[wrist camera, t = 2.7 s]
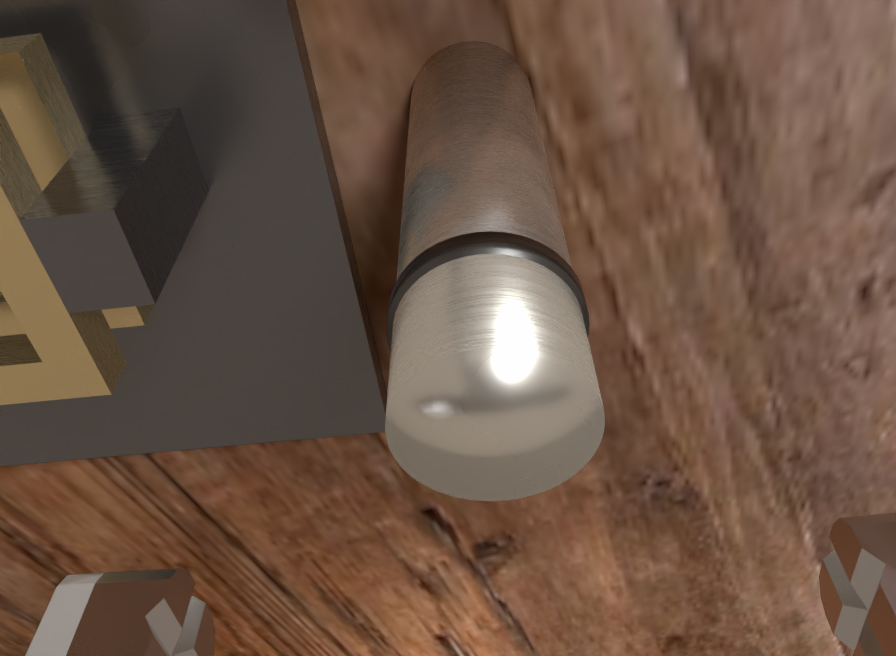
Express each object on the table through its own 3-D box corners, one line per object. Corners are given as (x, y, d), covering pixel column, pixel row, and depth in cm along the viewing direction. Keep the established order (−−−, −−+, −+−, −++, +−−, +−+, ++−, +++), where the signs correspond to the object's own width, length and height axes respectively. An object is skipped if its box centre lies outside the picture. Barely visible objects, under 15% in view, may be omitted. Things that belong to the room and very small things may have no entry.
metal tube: (397, 46, 20) (357, 353, 11) (531, 29, 20) (612, 328, 10) (416, 167, 22) (398, 513, 13) (538, 153, 22) (610, 495, 12)
